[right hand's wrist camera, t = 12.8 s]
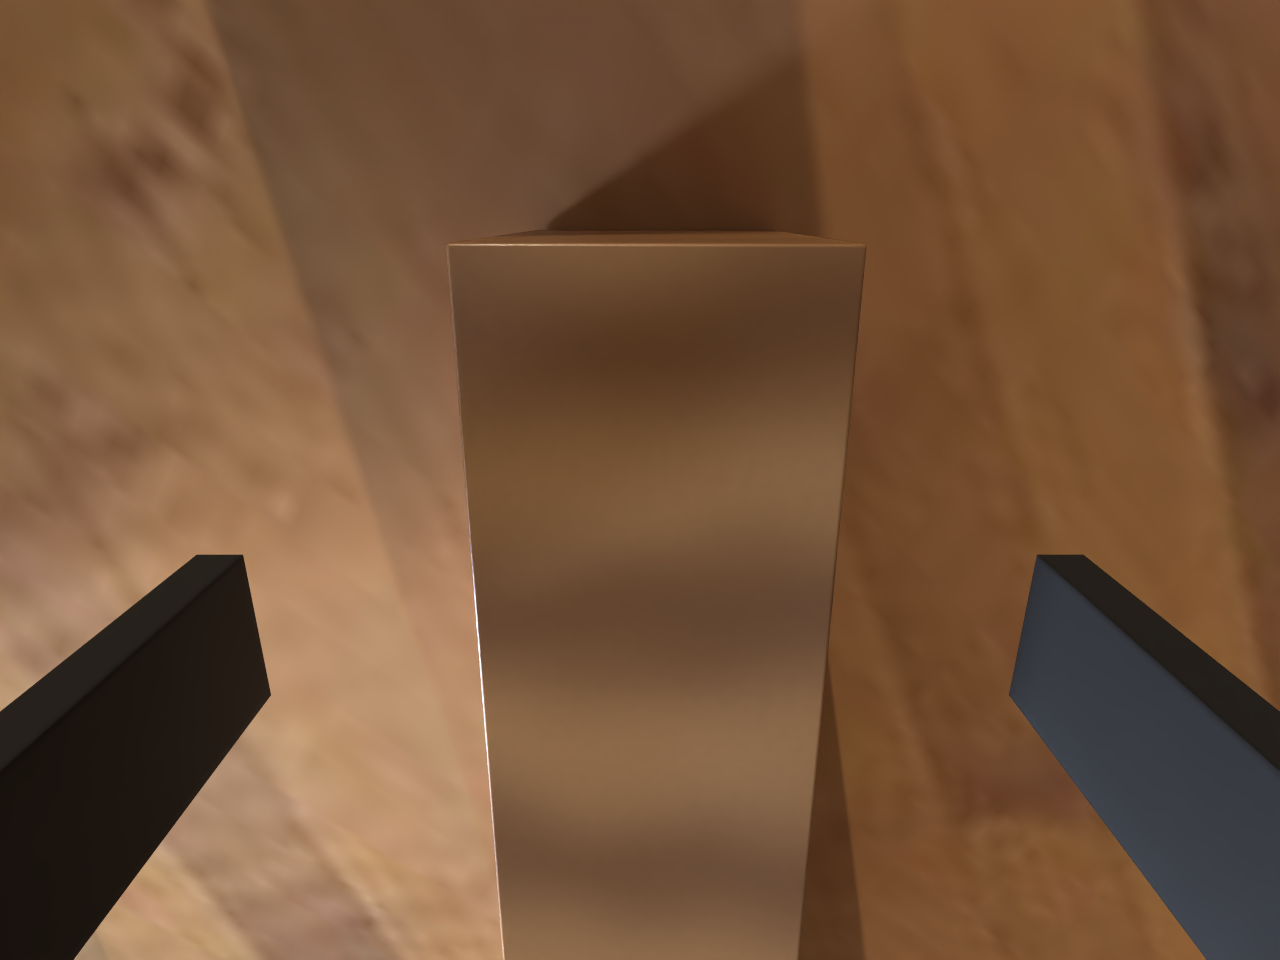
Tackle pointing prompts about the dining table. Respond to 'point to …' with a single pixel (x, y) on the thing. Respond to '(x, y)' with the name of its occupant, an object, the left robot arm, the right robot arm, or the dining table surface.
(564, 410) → the beam
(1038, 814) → the dining table surface
